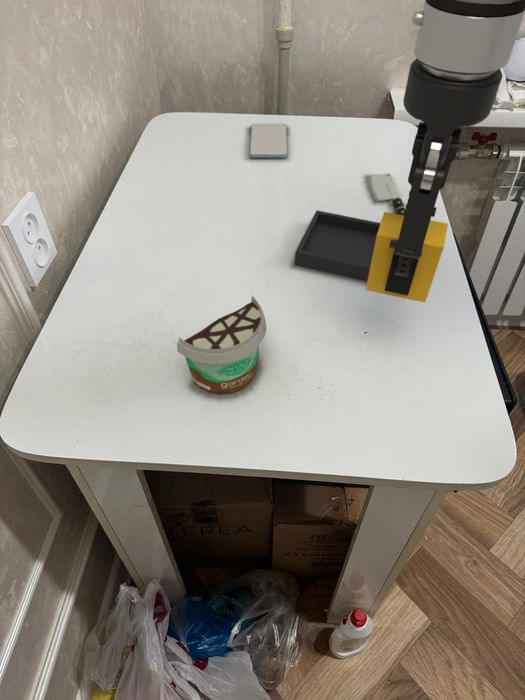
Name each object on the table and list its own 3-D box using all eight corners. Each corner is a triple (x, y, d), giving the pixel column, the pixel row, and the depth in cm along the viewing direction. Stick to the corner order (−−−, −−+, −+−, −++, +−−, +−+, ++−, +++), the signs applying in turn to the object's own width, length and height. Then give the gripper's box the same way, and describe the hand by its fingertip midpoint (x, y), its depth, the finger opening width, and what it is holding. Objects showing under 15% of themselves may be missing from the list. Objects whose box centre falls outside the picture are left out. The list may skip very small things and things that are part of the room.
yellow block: (429, 278, 61) (448, 223, 55) (425, 303, 58) (443, 247, 52) (372, 266, 62) (384, 211, 56) (365, 290, 60) (376, 234, 53)
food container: (211, 419, 64) (204, 370, 56) (185, 389, 67) (174, 339, 59) (284, 370, 69) (286, 320, 61) (256, 344, 72) (255, 293, 65)
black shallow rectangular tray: (412, 243, 87) (415, 229, 85) (399, 289, 80) (403, 275, 78) (315, 223, 91) (316, 210, 89) (294, 265, 84) (295, 251, 82)
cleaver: (366, 174, 101) (391, 170, 101) (366, 180, 102) (391, 176, 102) (381, 222, 90) (410, 217, 90) (381, 228, 91) (409, 224, 91)
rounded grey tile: (286, 123, 116) (288, 154, 105) (286, 127, 116) (288, 159, 106) (250, 123, 116) (248, 154, 106) (250, 127, 116) (248, 159, 106)
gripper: (424, 24, 48) (381, 228, 66) (395, 100, 37) (353, 320, 55) (507, 33, 46) (440, 240, 64) (502, 114, 35) (423, 336, 53)
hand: (400, 276), depth 59 cm, fingers closed on yellow block, 4 cm apart
